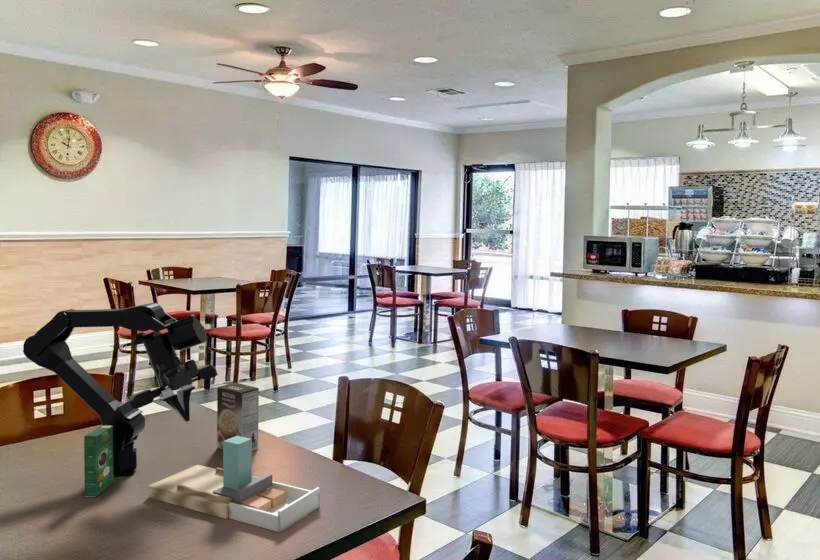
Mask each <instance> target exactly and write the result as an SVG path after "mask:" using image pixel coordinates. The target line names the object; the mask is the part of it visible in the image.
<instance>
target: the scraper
mask: <svg viewBox="0 0 820 560" xmlns="http://www.w3.org/2000/svg"><path fill="white" fill-rule="evenodd" d="M252 452H253V451H252V439H250V438H245V437H240V436H235V437H232V438H230V439H227V440H225V441H223V450H222V454H223V455H222V457H223V459H222V467H223V468H222V469H223V487H221V488H219V489H217V490H215V491H213V494H217V495H221V496H225V497H229V498H232V502H236V503H242V502H243V501H245V500H247V499H249V498H251V497H253V496H254V495H257V494H259V493H261V492H262V491H264V490H266V489H268V488H270V487H272V481H273V474H271V473H267V474H265V475H263V476H261V477H260V478H256V477H257V476H256V477H252V476H253V475H252V470H253V469H252V467H253V466H252V465H253V464H252V462H253V461H252V458H253V457H252V456H253V455H252Z"/></svg>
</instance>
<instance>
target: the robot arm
mask: <svg viewBox="0 0 820 560" xmlns="http://www.w3.org/2000/svg"><path fill="white" fill-rule="evenodd" d="M105 327H110V328H111V327H118V328H123V329H127V330H130V331H136V332H138V333H137V334H136V337H135V339H134V341H133V343H132V345H133V346H137V345H141V344H143V346H144V348H145V351H146V354H147V356H148V357H147V358H148V360H149V362H150V364H151V368H152V370H153V373H154V375H155V377H156V380H157V384H158V386H159V387H158V388H155V389H153V390H151V389H144V390H141V391H139V392H136V393H134V394H131V395H130V397H129V400H127V401H126V402H124V403H123V402H121V401H118V400H117V399H116V398H115V397H114V396H113V395H111V394H110V393H109V392H108V391H107V389H105V388H104V387H103V386H102V385H101V384H100V383H99V382H98V381H97V380H96V379H95V378H94V377H93V376H92V375H91V374H89V372H88V371H87V370H86V369H85V368H83V366H81V364H80V363H78V361H76V359H74V358H73V355H72V353H71V349H70V347H69V344H68V343H67V339H69V338H70V336H71V335H72V334H73V331H74V329H75V328H105ZM164 330H167V331H165V332H161V331H164ZM147 331H151V332H148V333H145V332H147ZM206 341H207V333H206V329H205V326H204V325H203V324H202V323H201V321H200V320H199V319H197V317H196V314H191V315H188V316H186V317H185V318H183V319H179V320H177V319H176V318H174V317H173V316H171V315H170V314H168V313H166V312H165V309H164V308H163V307H162V306H161V305H160V304H159V303H157V302H149V303H144V304H140V305H134V306H130V307H125V308H107V309H106V308H105V309H102V308H101V309H73V308H70V309H66V310H60V311H58V312H57V313H56V314H55V315H54V317H52V318H51V319H50V320H49V321H48V322H46V324H45V325H44V326H42V327H41V328H40V329H39V330H37V331H36V332H35V334H34V335H31V336H28V337H27V338H26V339H25V340H24V342H23V345H22V346H23V350H22V352H23V355H24V356H25V357H26V358H27V359H28V360H30V361H31V362H33V363H34V364H36V365H37V366H38V367H41V368H44V369H45V370H49V371H51V372H53V373H54V374H55V375H57V377H59V378H60V380H61V381H62V382H64V383H65V384H66V385H67V386H68V387H69V388H70V389H71V390H72V391H73V392H74V393H75V394H76V395H77V396H78V397H79V398H80V399H81V400H82V401H83V402H84V403H85V404H87V405H88V407H90V408H91V409H92V410H93V411H94V412H95V413H96V414H97V415H98V417H99V420H100V423H101V426H102V425H110V426H113V477H118V476H119V477H120V476H131V475H134V473H135V470H136V469H137V467H138V449H137V448H136V447H135V441H137V440H138V437H139V435H140V434H141V433H142V432H143V431H144V430H145V426H146V419H145V418H146V417H145V416H144V415H143V414H142V413H143V411H144V410H142V409H141V408H143V407H145V406H147V405H150V404H152V403H153V401H154V399H155V398H158V401H159V402H165V403H166V404H167V405H168V406H170V407H171V408H172V409H173V410H174V411H175V412H176V413H177V414H178V416H179V417H181V419H182V420H183V421H184V422H185V423H187V422H190V420H191V419H190V418H191V417H190V400H191V395H192V391H193V390H196V386H195V385H194V386H193V384H194V382H197V381H201V380H204V381H207V380H209V379H212V378H214V377H216V376H218V375H219V374H218V372H217V368H216V367H215V366H214V365H212V364H208V365H203V366H201V367H198V365H197V363H196V361H195V360H194V359H190V360H187V361H185V362H184V364H183V363H182V362H181V359H180V357H179V356H178V355H177V352H176V349H177V350H179V351H185V350H187V349H190V348H193V347H196V346H198V345H201V344H204V343H206ZM174 391H176V393H174Z"/></svg>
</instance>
